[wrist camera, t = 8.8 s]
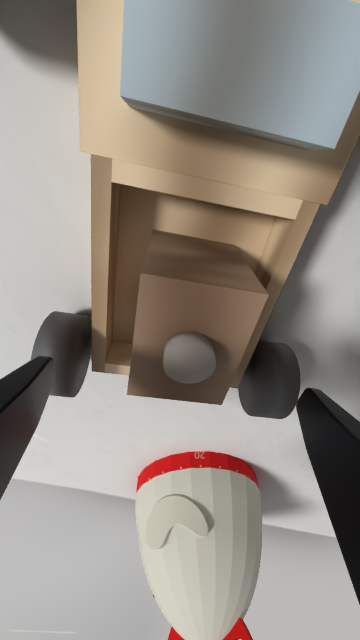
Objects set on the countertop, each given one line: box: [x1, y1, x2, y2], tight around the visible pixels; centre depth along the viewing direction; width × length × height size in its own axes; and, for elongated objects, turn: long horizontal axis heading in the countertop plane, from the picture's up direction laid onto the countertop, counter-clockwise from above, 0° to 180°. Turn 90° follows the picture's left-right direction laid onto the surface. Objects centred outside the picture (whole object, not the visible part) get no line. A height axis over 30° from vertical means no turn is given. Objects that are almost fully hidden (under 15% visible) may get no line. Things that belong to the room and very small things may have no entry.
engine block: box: [127, 229, 269, 405], centre depth 12 cm, size 4×6×7 cm
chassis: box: [31, 0, 360, 419], centre depth 11 cm, size 14×21×5 cm
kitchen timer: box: [135, 451, 262, 640], centre depth 23 cm, size 14×14×15 cm
